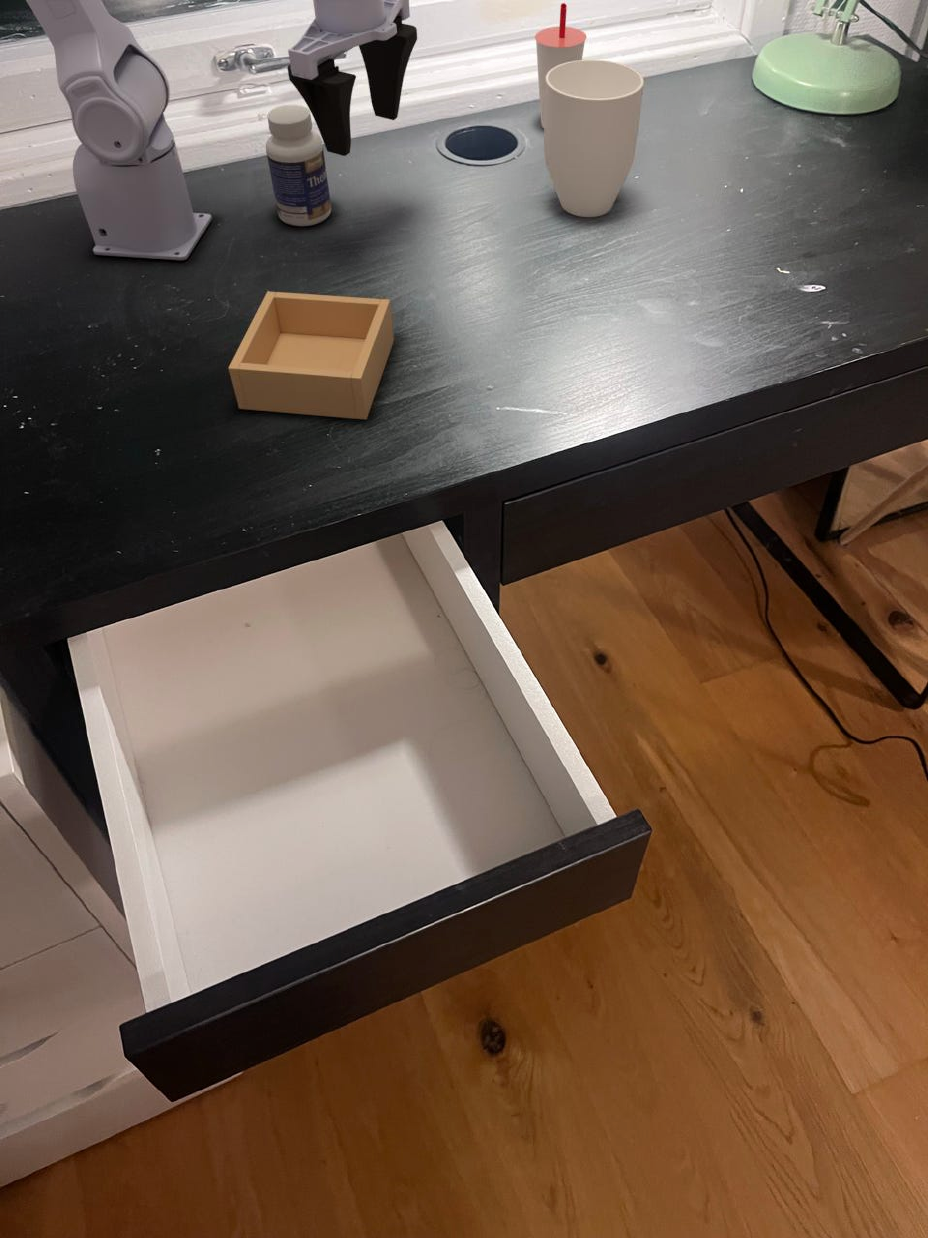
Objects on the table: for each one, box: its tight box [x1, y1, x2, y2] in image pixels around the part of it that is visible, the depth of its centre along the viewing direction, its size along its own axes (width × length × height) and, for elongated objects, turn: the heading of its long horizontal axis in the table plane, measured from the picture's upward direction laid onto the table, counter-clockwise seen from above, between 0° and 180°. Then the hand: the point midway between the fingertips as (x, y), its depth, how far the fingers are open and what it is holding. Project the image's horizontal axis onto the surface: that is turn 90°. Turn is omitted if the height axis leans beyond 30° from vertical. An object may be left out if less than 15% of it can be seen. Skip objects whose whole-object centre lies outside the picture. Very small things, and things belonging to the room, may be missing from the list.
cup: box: [534, 2, 587, 129], centre depth 102 cm, size 5×5×12 cm
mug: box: [543, 59, 645, 218], centre depth 92 cm, size 12×9×12 cm
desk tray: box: [228, 290, 395, 421], centre depth 78 cm, size 11×11×4 cm
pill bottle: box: [265, 104, 332, 227], centre depth 92 cm, size 5×5×10 cm
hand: (362, 133), depth 86 cm, fingers open, 7 cm apart
